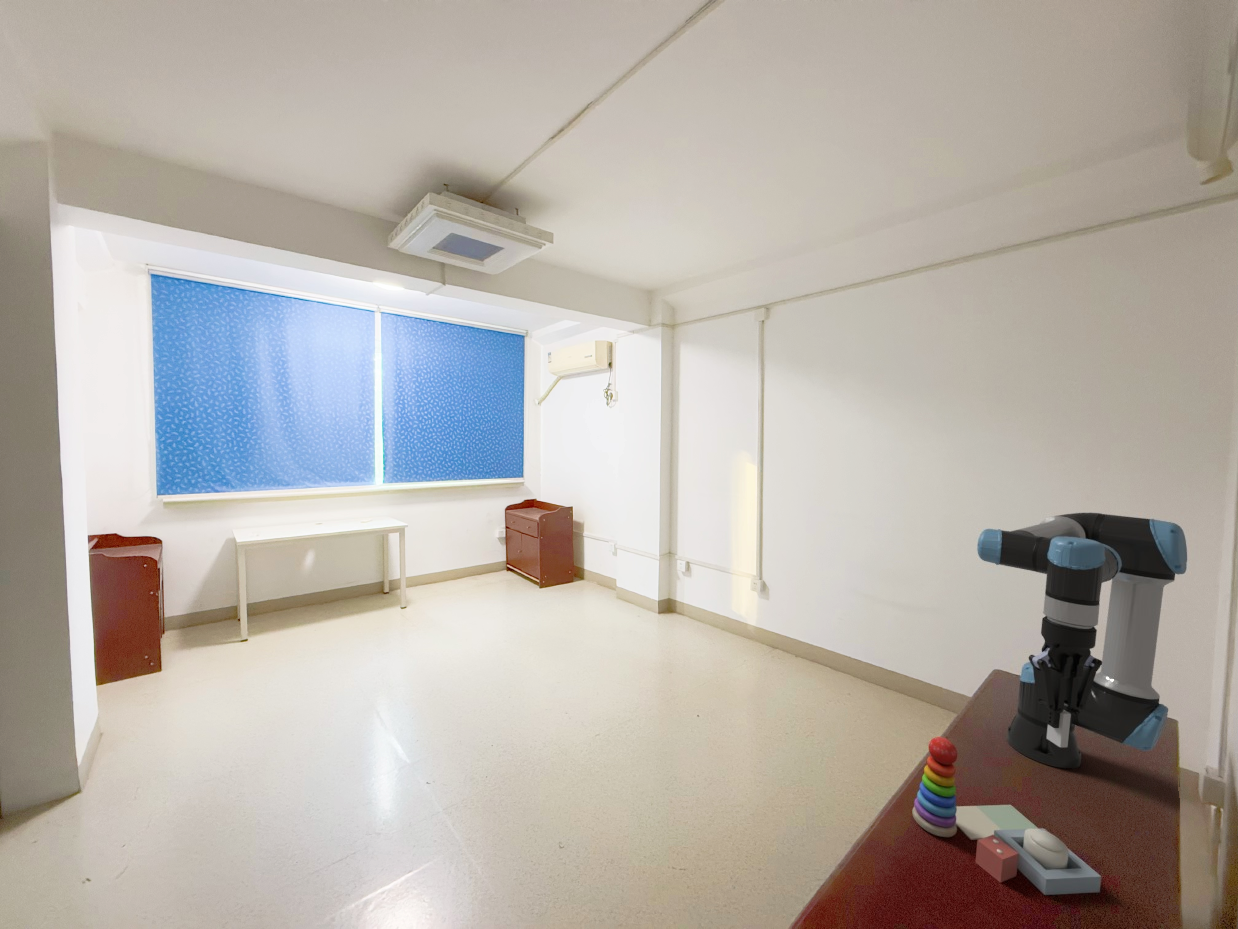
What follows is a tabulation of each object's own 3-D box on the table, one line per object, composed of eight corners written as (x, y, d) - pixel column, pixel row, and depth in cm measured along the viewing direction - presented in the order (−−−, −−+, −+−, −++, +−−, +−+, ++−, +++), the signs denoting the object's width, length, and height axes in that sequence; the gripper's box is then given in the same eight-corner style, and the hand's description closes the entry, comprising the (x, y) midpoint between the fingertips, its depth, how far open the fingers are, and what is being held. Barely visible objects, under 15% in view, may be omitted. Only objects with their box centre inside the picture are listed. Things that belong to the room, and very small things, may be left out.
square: (975, 807, 110) (975, 805, 110) (1009, 838, 102) (1009, 837, 102) (939, 808, 109) (940, 807, 109) (970, 840, 101) (970, 838, 101)
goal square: (1010, 806, 111) (1010, 804, 111) (1046, 837, 102) (1046, 835, 102) (975, 807, 110) (975, 805, 110) (1009, 838, 102) (1009, 837, 102)
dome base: (1042, 842, 101) (1043, 828, 101) (1099, 892, 90) (1101, 876, 90) (992, 844, 100) (994, 830, 100) (1044, 895, 89) (1046, 879, 89)
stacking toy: (940, 844, 99) (948, 754, 98) (903, 815, 107) (910, 732, 105) (965, 833, 102) (973, 746, 101) (928, 806, 110) (935, 724, 109)
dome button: (1043, 847, 98) (1045, 825, 98) (1075, 875, 92) (1078, 852, 92) (1013, 848, 98) (1016, 826, 98) (1044, 877, 91) (1047, 853, 91)
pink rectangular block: (991, 856, 97) (993, 834, 97) (1016, 876, 93) (1018, 852, 92) (975, 862, 95) (977, 839, 95) (1000, 882, 91) (1002, 859, 91)
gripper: (1080, 613, 96) (1068, 730, 98) (1018, 613, 95) (1007, 731, 97) (1122, 629, 89) (1109, 755, 91) (1057, 629, 88) (1044, 756, 89)
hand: (1056, 742), depth 94 cm, fingers closed
